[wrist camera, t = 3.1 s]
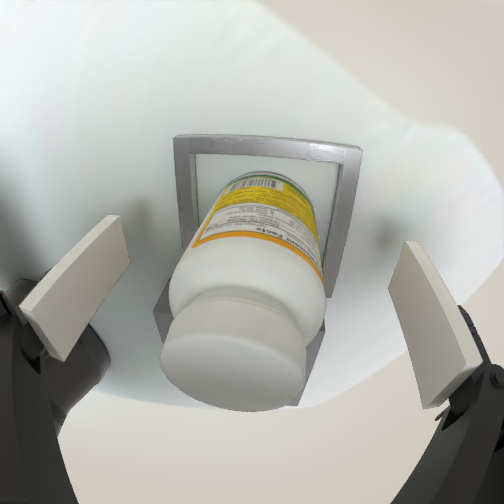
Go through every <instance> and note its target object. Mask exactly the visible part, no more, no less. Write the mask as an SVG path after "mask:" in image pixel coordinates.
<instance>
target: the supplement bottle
mask: <svg viewBox="0 0 504 504" xmlns="http://www.w3.org/2000/svg"><path fill="white" fill-rule="evenodd" d="M169 303H170V308H171V312H172V315H173V317H174V320H173V321H172V323H171V325H170V328H169V332H168V335H167V337H166V340H165V342H164V345H163V347H162V350H161V354H160V365H161V368H162V370H163V372H164V374H165V375H166V377H167V378H168V379H169V380H170V381H171V382H172V383H173V384H174V385H175V386H176V387H177V388H179V389H180V390H181V391H183V392H184V393H186V394H187V395H189V396H191V397H192V398H195V399H197V400H199V401H202V402H204V403H206V404H209V405H212V406H216V407H219V408H223V409H228V410H234V411H244V412H256V411H267V410H273V409H277V408H280V407H283V406H285V405H287V404H289V403H291V402H292V401H294V400H295V399H296V398H297V397H298V396H299V395H300V394H301V392H302V390H303V388H304V385H305V374H306V346H307V345H308V344H309V343H310V342H311V341H312V340H313V339H314V337H315V336H316V335H317V333H318V331H319V330H320V328H321V325H322V322H323V319H324V315H325V307H326V301H325V289H324V281H323V272H322V265H321V257H320V250H319V242H318V235H317V229H316V222H315V216H314V211H313V207H312V204H311V202H310V200H309V198H308V196H307V195H306V194H305V192H304V191H303V190H302V189H301V188H300V187H299V186H298V185H297V184H295V183H294V182H293V181H291V180H289V179H287V178H285V177H283V176H280V175H277V174H273V173H266V172H258V173H250V174H246V175H243V176H241V177H239V178H237V179H235V180H233V181H232V182H230V183H229V184H228V185H227V186H226V187H225V188H224V189H223V190H222V191H221V192H220V194H219V196H218V197H217V199H216V200H215V202H214V204H213V205H212V207H211V209H210V210H209V212H208V214H207V215H206V217H205V218H204V220H203V222H202V224H201V225H200V227H199V229H198V230H197V232H196V234H195V235H194V237H193V239H192V240H191V242H190V244H189V246H188V247H187V249H186V250H185V252H184V254H183V255H182V257H181V259H180V261H179V263H178V264H177V266H176V268H175V270H174V272H173V275H172V278H171V281H170V286H169Z"/></svg>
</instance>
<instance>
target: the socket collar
mask: <svg viewBox="0 0 504 504" xmlns="http://www.w3.org/2000/svg"><path fill="white" fill-rule="evenodd" d="M173 143H174V161H175V175H176V188H177V200H178V210H179V220H180V230H181V238H182V247H183V254H184V252H185V250H186V249H187V247H188V246H189V244H190V242H191V240H192V239H193V237H194V235H195V234H196V232H197V230H198V229H199V223H198V208H197V191H196V171H195V154H235V155H255V156H270V157H283V158H294V159H304V160H313V161H322V162H330V163H337V164H340V171H339V177H338V184H337V190H336V197H335V203H334V209H333V214H332V220H331V225H330V231H329V236H328V241H327V246H326V251H325V256H324V261H323V266H322V272H323V281H324V289H325V297H326V298H331V296H332V293H333V289H334V286H335V282H336V278H337V274H338V271H339V267H340V263H341V259H342V255H343V250H344V246H345V242H346V238H347V233H348V229H349V224H350V219H351V215H352V210H353V205H354V200H355V194H356V189H357V183H358V178H359V172H360V166H361V160H362V153H363V150H362V149H360V148H359V147H356V146H349V145H343V144H336V143H329V142H321V141H313V140H303V139H293V138H282V137H268V136H250V135H178V136H176V137H174V138H173Z"/></svg>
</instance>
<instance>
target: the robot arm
mask: <svg viewBox="0 0 504 504" xmlns="http://www.w3.org/2000/svg"><path fill="white" fill-rule="evenodd" d="M130 263H131V262H130V258H129V253H128V249H127V245H126V241H125V236H124V232H123V227H122V222H121V217H120V215H107V216H106V217H105V218H104V219H103V220H101V221H100V222H99V223H98V224H97V225H96V226H95V227H94V228H93V229H92V230H90V231H89V232H88V233H87V234H86V235H85V236H84V237H83V238H82V239H81V240H80V241H79V242H78V243H77V244H76V245H75V246H74V247H73V248H72V249H71V250H70V251H69V252H68V253H67V254H66V255H65V256H64V257H63V258H62V259H61V260H60V261H59V262H58V263H57V264H56V265H55V266H54V267H53V268H51V269H50V270H48V271H47V272H46V273H45V274H44V275H43V276H42V277H41V278H40V281H38V282H37V283H35V282H33V281H30V280H26V279H20V280H17V281H16V282H15V283H14V284H13V285H12V286H11V287H10V288H9V290H8V291H7V292H6V293H4V291H1V290H0V504H79V503H78V501H77V498H76V496H75V493H74V491H73V488H72V485H71V483H70V480H69V477H68V474H67V471H66V468H65V464H64V461H63V458H62V454H61V451H60V447H59V443H58V439H57V437H58V434H59V432H60V430H61V427H62V425H63V423H64V421H65V418H66V416H67V414H68V412H69V411H70V409H71V408H72V407H73V406H74V405H75V404H77V402H79V401H80V400H81V399H82V398H83V397H84V396H85V395H86V394H87V393H88V392H89V391H90V390H91V389H92V388H93V386H94V385H96V384H98V383H99V382H100V381H101V380H102V378H103V376H104V374H105V372H106V370H107V368H108V366H109V356H108V353H107V351H106V349H105V347H104V345H103V344H102V342H101V341H100V339H99V338H98V336H97V335H96V334H95V332H94V331H93V330H92V329H91V328H90V326H89V325H88V323H89V321H90V320H91V318H92V317H93V315H94V314H95V312H96V311H97V309H98V308H99V306H100V305H101V303H102V302H103V301H104V299H105V298H106V296H107V295H108V293H109V292H110V291H111V289H112V288H113V286H114V285H115V284H116V282H117V281H118V279H119V278H120V277H121V275H122V274H123V273H124V271H125V270H126V269H127V267H128V266H129V265H130ZM388 290H389V293H390V295H391V298H392V301H393V304H394V307H395V310H396V312H397V315H398V318H399V321H400V324H401V328H402V331H403V334H404V337H405V340H406V344H407V347H408V351H409V354H410V358H411V361H412V365H413V369H414V372H415V377H416V380H417V384H418V389H419V393H420V398H421V402H422V407H423V409H428V408H434V407H439V406H440V405H442V404H443V402H445V401H446V400H447V399H449V402H450V405H449V406H448V407H447V408H446V409H445V410H444V411H443V412H441V413H440V414H439V415H438V416H437V417H436V419H435V421H437V420H438V419H440V418H441V417H442V416H443V417H442V419H441V421H440V423H439V425H438V427H437V429H436V431H435V434H434V435H433V437H432V439H431V441H430V443H429V445H428V446H427V448H426V450H425V452H424V454H423V455H422V457H421V459H420V460H419V462H418V464H417V465H416V467H415V469H414V470H413V472H412V474H411V475H410V477H409V478H408V480H407V481H406V483H405V484H404V486H403V487H402V488H401V490H400V491H399V493H398V494H397V495H396V497H395V498H394V499H393V501H392V502H391V503H390V504H504V369H503V368H502V367H501V366H499V365H496V364H491V361H490V359H489V357H488V354H487V352H486V350H485V348H484V345H483V343H482V341H481V339H480V337H479V335H477V330H476V328H475V327H474V326H473V325H474V324H473V322H472V320H471V318H470V316H469V314H468V313H467V312H466V311H465V310H464V309H463V308H462V307H461V306H460V305H456V303H455V301H454V299H453V297H452V295H451V293H450V292H449V290H448V288H447V286H446V285H445V283H444V281H443V279H442V278H441V276H440V274H439V273H438V271H437V269H436V268H435V266H434V264H433V263H432V261H431V260H430V258H429V256H428V255H427V253H426V252H425V250H424V249H423V247H422V246H421V244H420V243H419V242H414V241H406V240H405V243H404V246H403V249H402V252H401V255H400V258H399V260H398V263H397V266H396V269H395V271H394V274H393V277H392V279H391V282H390V284H389V287H388Z"/></svg>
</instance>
